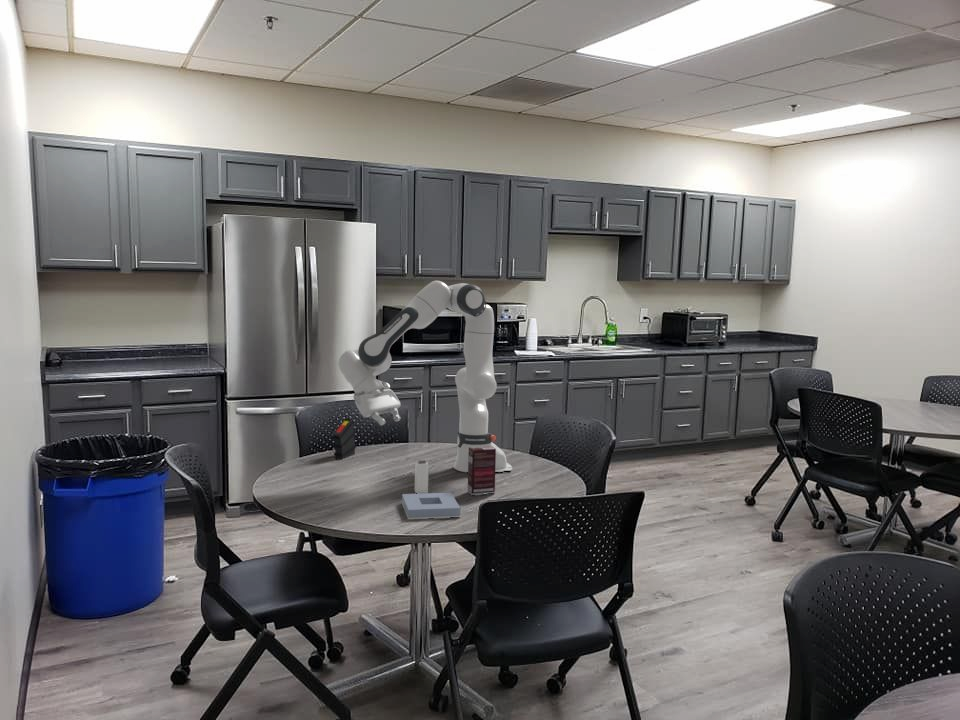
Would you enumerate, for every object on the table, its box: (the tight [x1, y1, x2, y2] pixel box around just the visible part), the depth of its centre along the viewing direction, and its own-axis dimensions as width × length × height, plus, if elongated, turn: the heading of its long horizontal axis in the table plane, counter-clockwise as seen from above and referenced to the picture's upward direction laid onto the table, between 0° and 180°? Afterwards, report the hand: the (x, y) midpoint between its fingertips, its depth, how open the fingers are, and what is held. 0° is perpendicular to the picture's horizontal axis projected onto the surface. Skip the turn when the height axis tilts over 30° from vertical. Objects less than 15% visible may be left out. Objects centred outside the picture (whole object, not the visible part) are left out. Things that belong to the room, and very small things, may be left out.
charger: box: [413, 460, 430, 494], centre depth 244 cm, size 4×4×11 cm
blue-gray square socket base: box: [401, 492, 462, 520], centre depth 226 cm, size 16×16×3 cm
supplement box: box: [467, 446, 496, 496], centre depth 245 cm, size 9×5×16 cm, turn 110°
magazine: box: [331, 418, 357, 460], centre depth 288 cm, size 4×13×15 cm, turn 161°
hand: (391, 422), depth 248 cm, fingers open, 8 cm apart
